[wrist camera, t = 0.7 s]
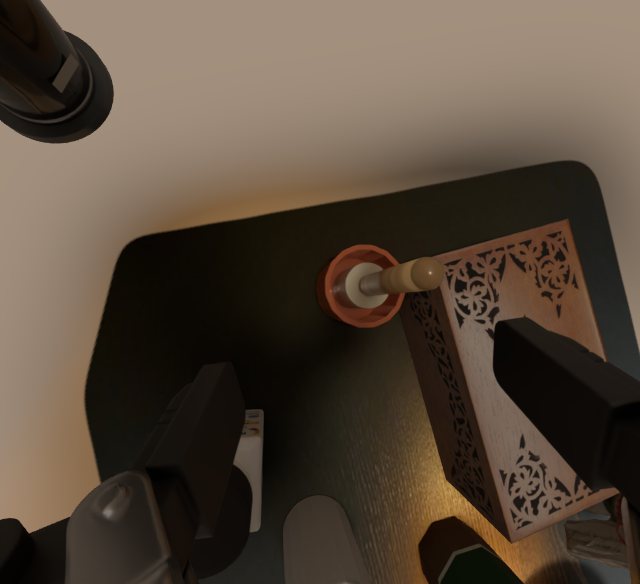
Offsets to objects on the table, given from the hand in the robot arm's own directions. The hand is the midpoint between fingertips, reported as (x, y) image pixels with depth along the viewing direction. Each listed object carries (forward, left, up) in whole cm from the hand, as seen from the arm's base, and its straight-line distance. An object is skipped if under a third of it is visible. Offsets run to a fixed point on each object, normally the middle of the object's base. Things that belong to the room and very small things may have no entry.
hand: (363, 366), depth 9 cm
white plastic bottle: (+10, -20, -25) cm, 34 cm away
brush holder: (+4, +6, -25) cm, 26 cm away
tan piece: (+4, +6, -25) cm, 26 cm away
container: (-2, -15, -26) cm, 30 cm away
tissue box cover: (+21, +4, -26) cm, 34 cm away
